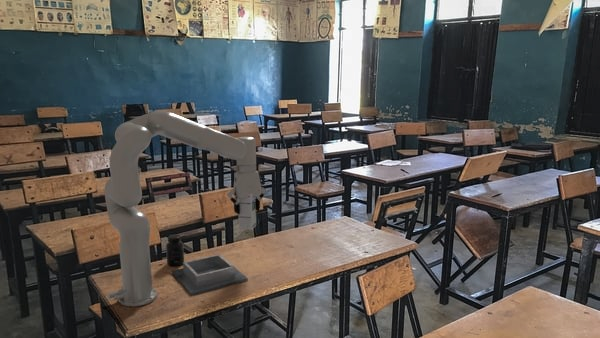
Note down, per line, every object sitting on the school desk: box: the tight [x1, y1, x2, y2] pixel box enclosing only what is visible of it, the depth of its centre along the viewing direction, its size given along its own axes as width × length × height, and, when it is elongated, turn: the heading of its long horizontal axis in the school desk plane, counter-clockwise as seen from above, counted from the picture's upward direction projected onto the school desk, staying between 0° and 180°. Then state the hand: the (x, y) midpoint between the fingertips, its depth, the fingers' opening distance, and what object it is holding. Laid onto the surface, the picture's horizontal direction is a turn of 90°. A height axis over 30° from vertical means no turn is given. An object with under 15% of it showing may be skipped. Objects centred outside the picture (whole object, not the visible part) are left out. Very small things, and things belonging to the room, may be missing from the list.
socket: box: [171, 253, 249, 296], centre depth 172 cm, size 22×22×5 cm
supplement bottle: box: [165, 234, 185, 268], centre depth 183 cm, size 7×7×12 cm
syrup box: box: [237, 194, 257, 231], centre depth 179 cm, size 6×6×14 cm
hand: (247, 211), depth 179 cm, fingers closed on syrup box, 8 cm apart
